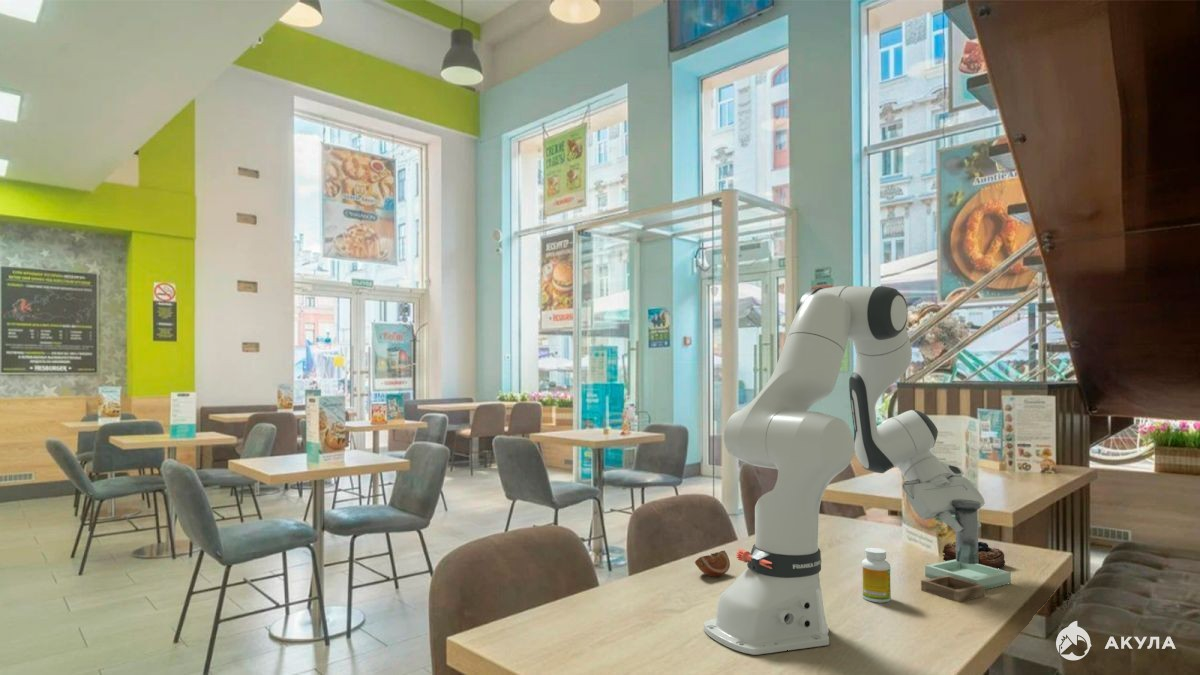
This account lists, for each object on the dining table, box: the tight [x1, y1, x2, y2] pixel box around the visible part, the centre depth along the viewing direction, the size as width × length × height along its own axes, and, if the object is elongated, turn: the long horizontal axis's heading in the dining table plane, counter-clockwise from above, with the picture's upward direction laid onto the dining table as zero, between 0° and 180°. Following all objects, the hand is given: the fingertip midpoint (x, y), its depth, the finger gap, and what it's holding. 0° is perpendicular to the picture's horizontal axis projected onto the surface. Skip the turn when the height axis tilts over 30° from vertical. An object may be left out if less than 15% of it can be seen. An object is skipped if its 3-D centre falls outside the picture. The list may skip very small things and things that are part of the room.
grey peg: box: [952, 499, 982, 564], centre depth 151 cm, size 6×6×13 cm
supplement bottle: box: [861, 547, 891, 604], centre depth 138 cm, size 5×5×10 cm
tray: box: [924, 559, 1012, 591], centre depth 151 cm, size 12×12×2 cm
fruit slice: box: [694, 550, 731, 578], centre depth 153 cm, size 8×7×5 cm
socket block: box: [920, 575, 985, 603], centre depth 142 cm, size 8×8×2 cm
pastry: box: [942, 541, 1006, 569], centre depth 163 cm, size 11×12×6 cm
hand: (969, 529), depth 150 cm, fingers closed on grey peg, 4 cm apart
